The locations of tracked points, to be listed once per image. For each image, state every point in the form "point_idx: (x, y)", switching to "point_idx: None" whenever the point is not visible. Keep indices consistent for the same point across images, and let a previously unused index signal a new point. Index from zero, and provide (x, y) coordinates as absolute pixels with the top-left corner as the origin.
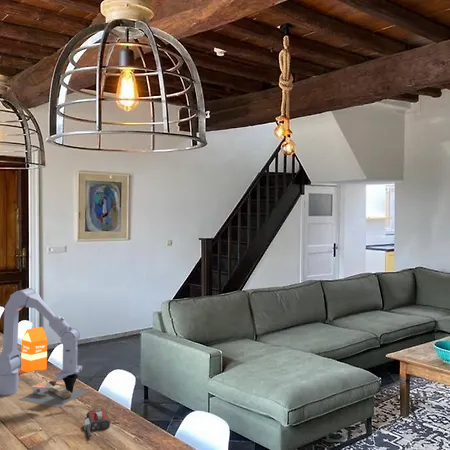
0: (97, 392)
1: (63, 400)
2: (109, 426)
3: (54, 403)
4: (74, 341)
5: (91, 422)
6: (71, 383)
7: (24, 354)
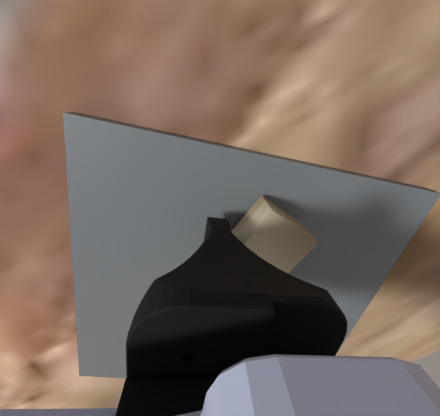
0: (11, 44)
1: (317, 214)
2: None
3: (371, 238)
4: None
5: None
6: (266, 263)
7: None
